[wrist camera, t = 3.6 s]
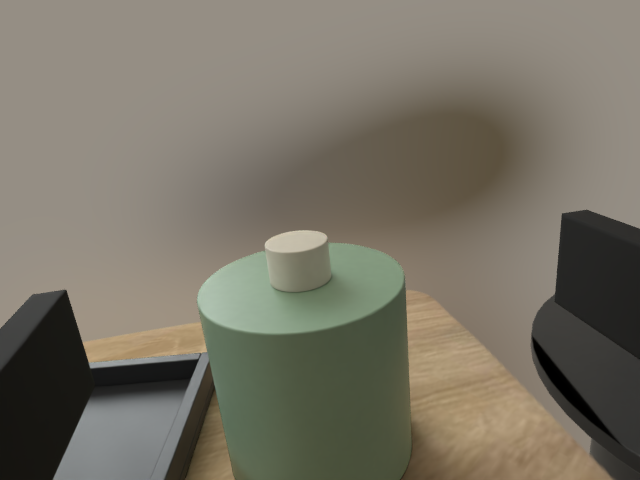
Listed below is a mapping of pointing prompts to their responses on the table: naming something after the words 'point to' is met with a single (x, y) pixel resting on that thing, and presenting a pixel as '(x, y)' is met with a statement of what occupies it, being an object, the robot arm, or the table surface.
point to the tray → (140, 419)
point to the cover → (311, 360)
